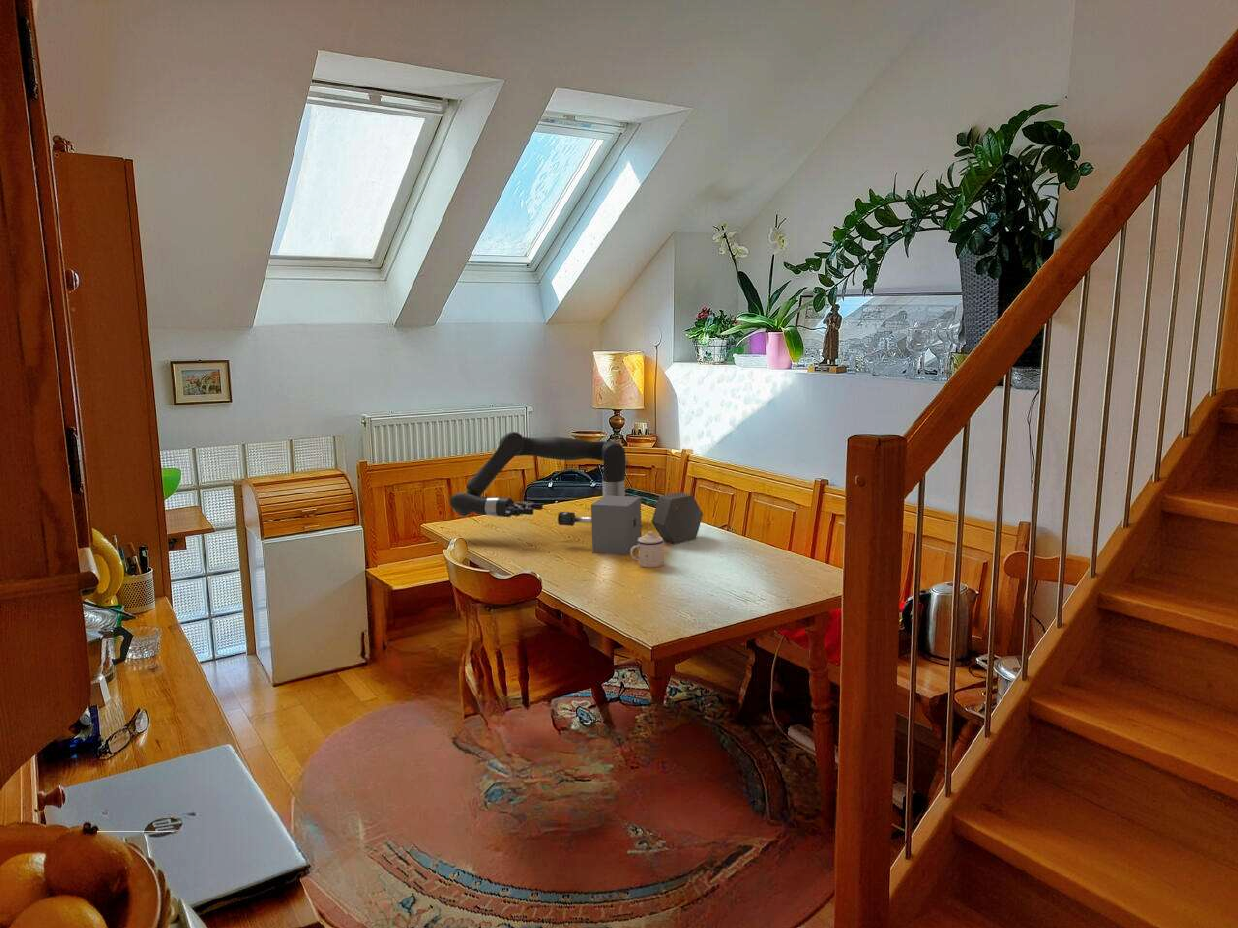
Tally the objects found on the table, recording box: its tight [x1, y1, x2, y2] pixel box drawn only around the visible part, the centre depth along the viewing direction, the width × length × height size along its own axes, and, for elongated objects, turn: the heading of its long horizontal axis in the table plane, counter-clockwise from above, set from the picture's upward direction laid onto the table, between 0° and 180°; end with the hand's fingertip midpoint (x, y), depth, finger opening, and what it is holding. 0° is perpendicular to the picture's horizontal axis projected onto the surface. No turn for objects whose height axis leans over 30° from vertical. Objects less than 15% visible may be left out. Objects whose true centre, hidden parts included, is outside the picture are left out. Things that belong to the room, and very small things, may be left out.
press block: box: [590, 495, 643, 556], centre depth 319 cm, size 16×14×18 cm
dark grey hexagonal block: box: [650, 492, 704, 545], centre depth 328 cm, size 17×8×21 cm
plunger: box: [557, 511, 591, 527], centre depth 323 cm, size 5×19×5 cm, turn 71°
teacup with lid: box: [629, 530, 665, 569], centre depth 297 cm, size 12×9×12 cm
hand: (537, 509), depth 328 cm, fingers open, 8 cm apart
